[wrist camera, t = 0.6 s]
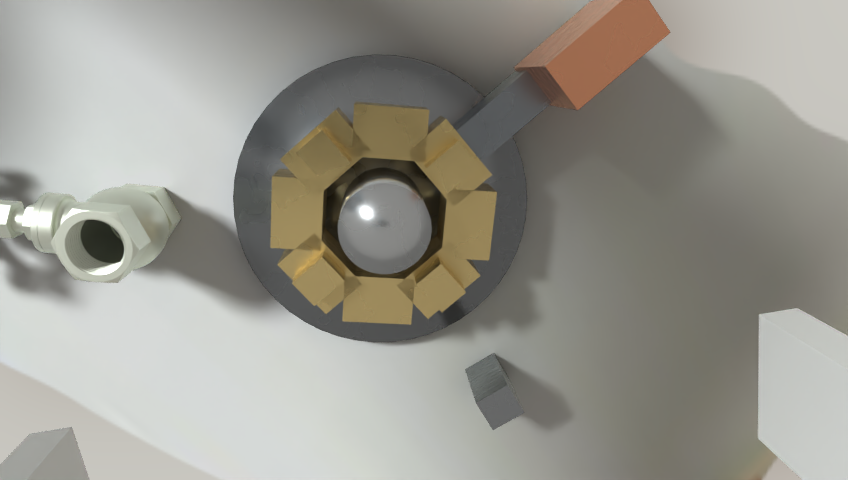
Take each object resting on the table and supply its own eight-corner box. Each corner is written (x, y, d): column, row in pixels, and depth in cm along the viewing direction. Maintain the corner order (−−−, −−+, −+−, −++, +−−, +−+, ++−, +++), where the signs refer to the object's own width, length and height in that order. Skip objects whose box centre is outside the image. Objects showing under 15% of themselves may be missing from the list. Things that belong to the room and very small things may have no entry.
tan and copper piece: (373, 342, 35) (374, 395, 29) (234, 199, 32) (204, 226, 27) (661, 105, 33) (723, 111, 27) (539, -71, 30) (578, -105, 24)
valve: (186, 158, 33) (-52, 135, 32) (142, 178, 27) (-158, 150, 26) (184, 274, 35) (-43, 256, 34) (142, 319, 28) (-139, 299, 27)
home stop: (465, 369, 38) (476, 403, 34) (493, 353, 38) (507, 385, 34) (480, 394, 38) (493, 430, 34) (508, 378, 38) (524, 412, 34)
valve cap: (174, 189, 33) (133, 214, 28) (397, -12, 32) (403, -30, 26) (370, 385, 37) (369, 442, 32) (577, 216, 36) (616, 244, 30)
